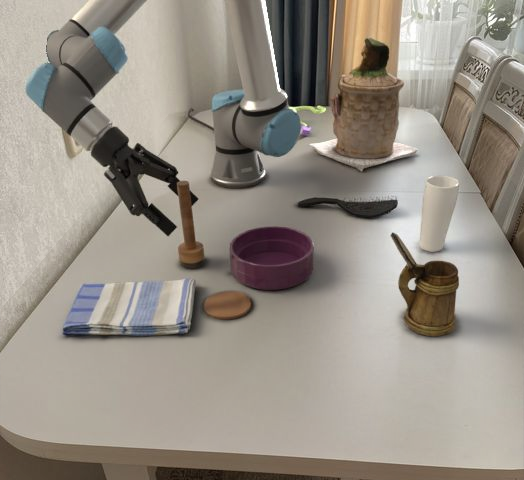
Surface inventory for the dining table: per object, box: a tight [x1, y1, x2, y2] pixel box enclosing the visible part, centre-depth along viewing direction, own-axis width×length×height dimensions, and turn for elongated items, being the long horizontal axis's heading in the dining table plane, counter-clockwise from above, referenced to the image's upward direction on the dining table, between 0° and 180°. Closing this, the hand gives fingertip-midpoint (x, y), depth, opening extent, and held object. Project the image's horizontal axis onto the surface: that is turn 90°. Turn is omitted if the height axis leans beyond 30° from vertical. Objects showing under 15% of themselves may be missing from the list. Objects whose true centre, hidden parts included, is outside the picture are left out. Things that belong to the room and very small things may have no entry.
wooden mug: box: [390, 232, 460, 337], centre depth 94 cm, size 9×14×18 cm, turn 88°
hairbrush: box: [297, 195, 399, 219], centre depth 137 cm, size 8×4×25 cm
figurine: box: [289, 105, 327, 137], centre depth 191 cm, size 18×27×6 cm
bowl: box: [228, 225, 315, 291], centre depth 114 cm, size 17×17×6 cm
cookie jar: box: [309, 37, 418, 172], centre depth 160 cm, size 25×25×32 cm
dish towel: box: [62, 278, 197, 337], centre depth 104 cm, size 17×24×3 cm
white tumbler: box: [418, 175, 460, 253], centre depth 117 cm, size 7×7×15 cm
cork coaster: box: [203, 290, 252, 321], centre depth 105 cm, size 9×9×1 cm
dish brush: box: [177, 180, 205, 270], centre depth 113 cm, size 5×5×18 cm
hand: (184, 217), depth 112 cm, fingers open, 13 cm apart
